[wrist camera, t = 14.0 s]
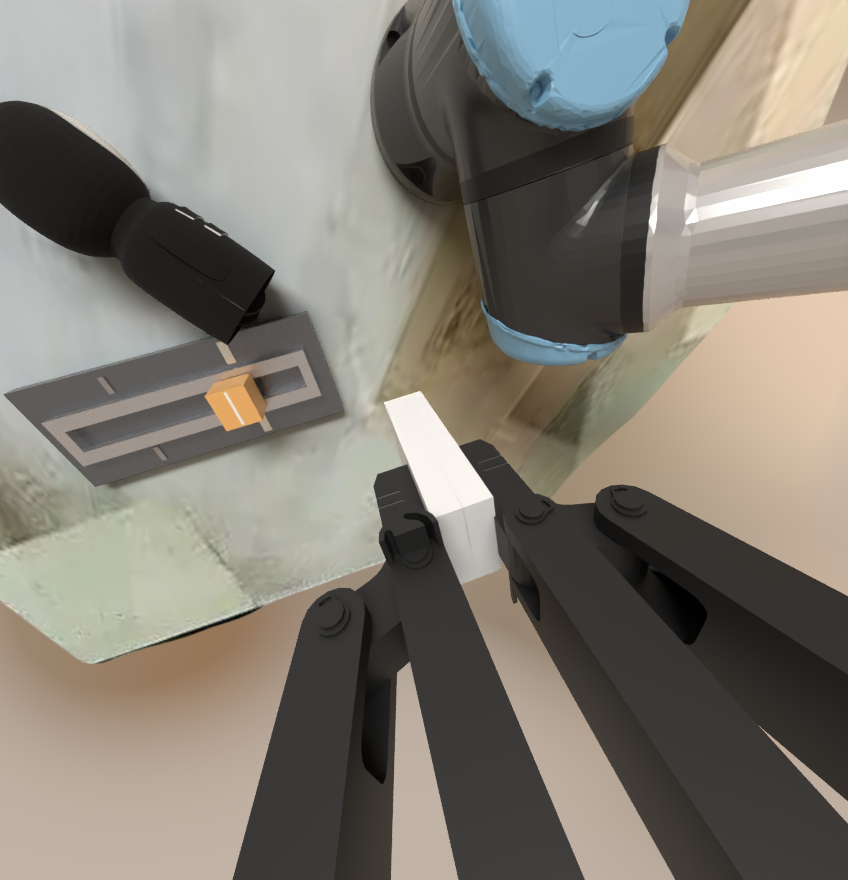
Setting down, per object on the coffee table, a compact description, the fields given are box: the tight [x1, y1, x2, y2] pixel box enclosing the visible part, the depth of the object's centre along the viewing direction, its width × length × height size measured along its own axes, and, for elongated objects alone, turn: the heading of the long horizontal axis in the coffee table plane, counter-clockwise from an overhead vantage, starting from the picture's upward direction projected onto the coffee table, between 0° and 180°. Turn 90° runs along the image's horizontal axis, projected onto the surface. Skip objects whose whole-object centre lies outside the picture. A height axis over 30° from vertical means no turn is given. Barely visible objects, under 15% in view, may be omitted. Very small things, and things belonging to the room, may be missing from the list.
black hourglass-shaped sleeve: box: [0, 101, 275, 345], centre depth 30 cm, size 9×9×20 cm
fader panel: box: [3, 311, 344, 487], centre depth 40 cm, size 32×13×3 cm, turn 102°
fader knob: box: [205, 373, 267, 431], centre depth 38 cm, size 4×4×5 cm
